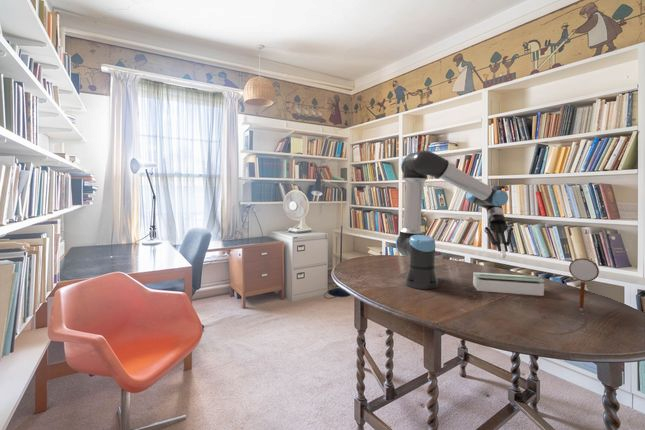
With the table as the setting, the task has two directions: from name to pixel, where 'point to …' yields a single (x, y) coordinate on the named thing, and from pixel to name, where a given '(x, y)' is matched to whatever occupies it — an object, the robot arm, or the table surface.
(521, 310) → the table surface
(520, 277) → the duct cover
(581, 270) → the magnifying glass
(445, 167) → the robot arm
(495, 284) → the cable duct
